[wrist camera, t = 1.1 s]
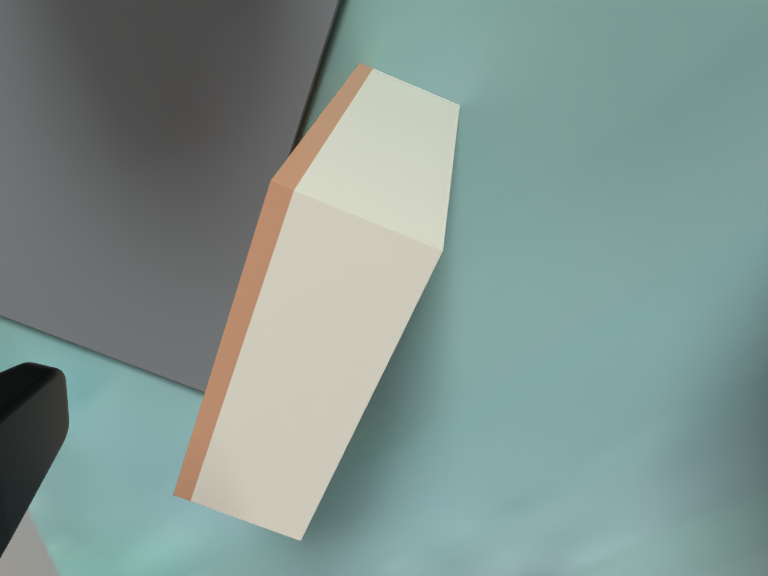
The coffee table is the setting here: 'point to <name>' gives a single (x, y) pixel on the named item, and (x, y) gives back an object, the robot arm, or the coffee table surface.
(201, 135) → the mat
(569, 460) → the coffee table surface
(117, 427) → the coffee table surface
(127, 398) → the coffee table surface
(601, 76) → the coffee table surface
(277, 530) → the cream rectangular block
